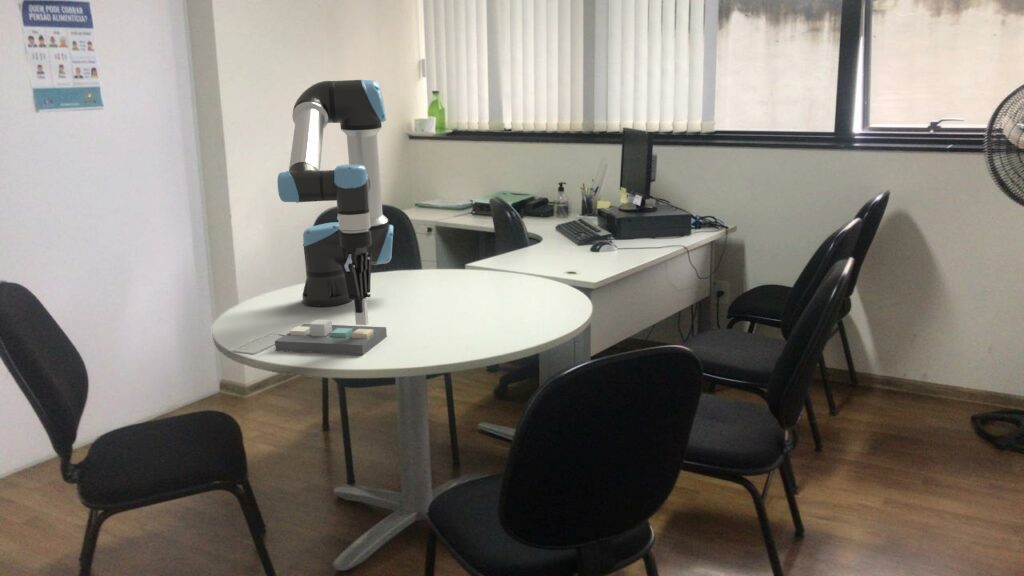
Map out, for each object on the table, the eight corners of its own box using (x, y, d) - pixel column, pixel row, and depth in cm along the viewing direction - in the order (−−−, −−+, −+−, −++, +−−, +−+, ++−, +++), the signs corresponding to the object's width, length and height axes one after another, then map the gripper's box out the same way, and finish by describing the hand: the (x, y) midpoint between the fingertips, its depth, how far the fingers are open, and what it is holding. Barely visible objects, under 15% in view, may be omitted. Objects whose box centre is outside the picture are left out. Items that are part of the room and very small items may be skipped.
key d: (359, 340, 200) (358, 328, 199) (374, 341, 199) (373, 329, 198) (352, 345, 196) (351, 333, 195) (367, 346, 195) (366, 334, 194)
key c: (338, 339, 201) (337, 327, 200) (353, 340, 200) (352, 328, 199) (331, 344, 197) (330, 332, 196) (346, 345, 196) (345, 333, 196)
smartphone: (230, 351, 195) (271, 333, 209) (230, 353, 195) (271, 335, 209) (254, 353, 192) (294, 335, 206) (254, 356, 192) (294, 338, 206)
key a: (298, 337, 203) (297, 326, 203) (312, 338, 203) (311, 326, 202) (290, 342, 200) (289, 330, 199) (305, 343, 199) (304, 331, 198)
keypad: (304, 332, 209) (304, 323, 208) (386, 336, 204) (386, 327, 203) (275, 350, 195) (274, 341, 194) (363, 355, 190) (362, 345, 189)
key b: (317, 331, 202) (316, 319, 201) (332, 331, 201) (331, 320, 200) (310, 335, 198) (309, 323, 197) (325, 336, 197) (324, 324, 196)
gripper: (351, 224, 198) (358, 315, 204) (328, 235, 185) (336, 331, 191) (379, 225, 196) (386, 317, 202) (358, 235, 184) (365, 332, 190)
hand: (362, 323), depth 197 cm, fingers closed
